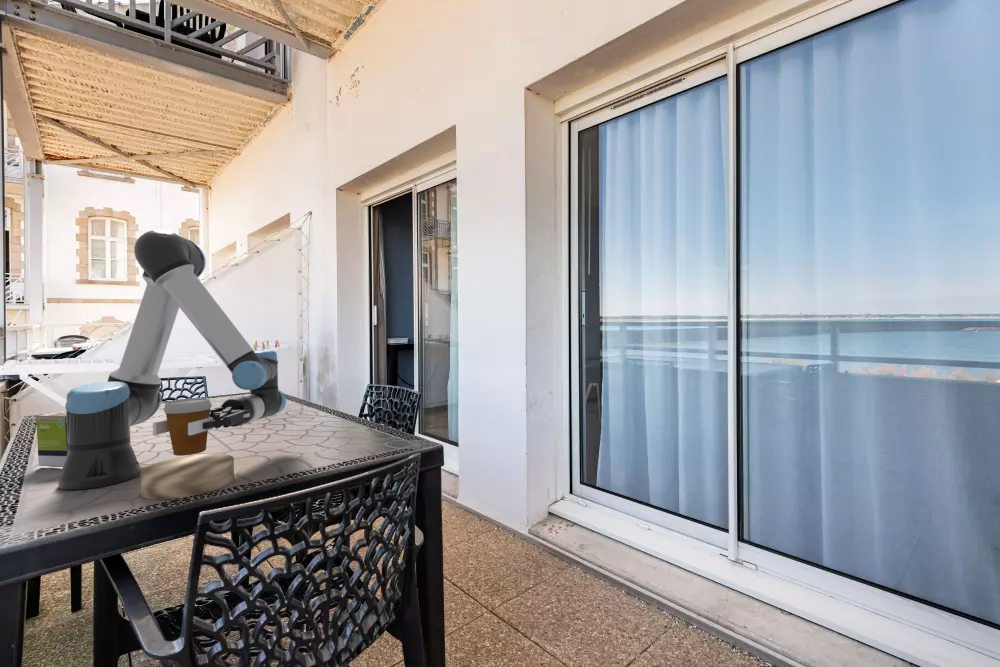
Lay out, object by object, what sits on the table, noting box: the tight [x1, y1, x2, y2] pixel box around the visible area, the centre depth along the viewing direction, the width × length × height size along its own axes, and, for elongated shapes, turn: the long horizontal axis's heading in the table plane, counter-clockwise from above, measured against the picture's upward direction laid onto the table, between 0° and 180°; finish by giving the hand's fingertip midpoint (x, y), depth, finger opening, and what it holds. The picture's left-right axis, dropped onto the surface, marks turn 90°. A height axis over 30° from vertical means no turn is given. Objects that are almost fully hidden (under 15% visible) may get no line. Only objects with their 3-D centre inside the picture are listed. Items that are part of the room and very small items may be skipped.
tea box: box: [35, 410, 68, 467], centre depth 130 cm, size 15×10×15 cm
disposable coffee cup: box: [162, 397, 213, 457], centre depth 107 cm, size 10×10×12 cm
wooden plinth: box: [139, 453, 235, 501], centre depth 107 cm, size 18×18×5 cm
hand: (171, 429), depth 103 cm, fingers closed on disposable coffee cup, 8 cm apart
